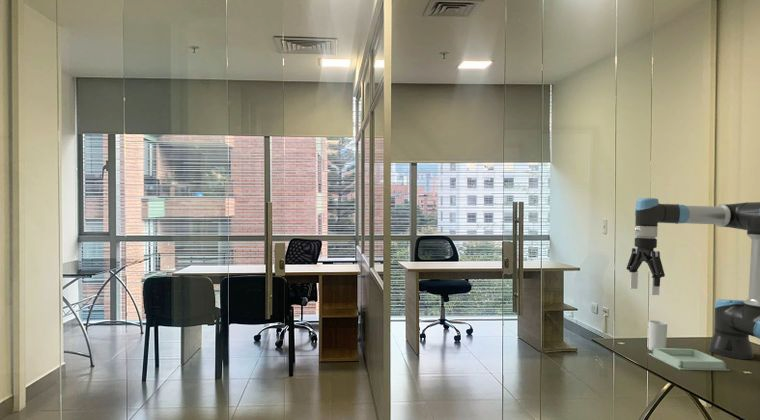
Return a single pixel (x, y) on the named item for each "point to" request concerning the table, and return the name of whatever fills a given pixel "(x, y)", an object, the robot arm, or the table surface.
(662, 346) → the mug
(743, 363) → the table surface
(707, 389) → the table surface
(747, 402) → the table surface
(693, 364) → the tray
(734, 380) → the table surface
